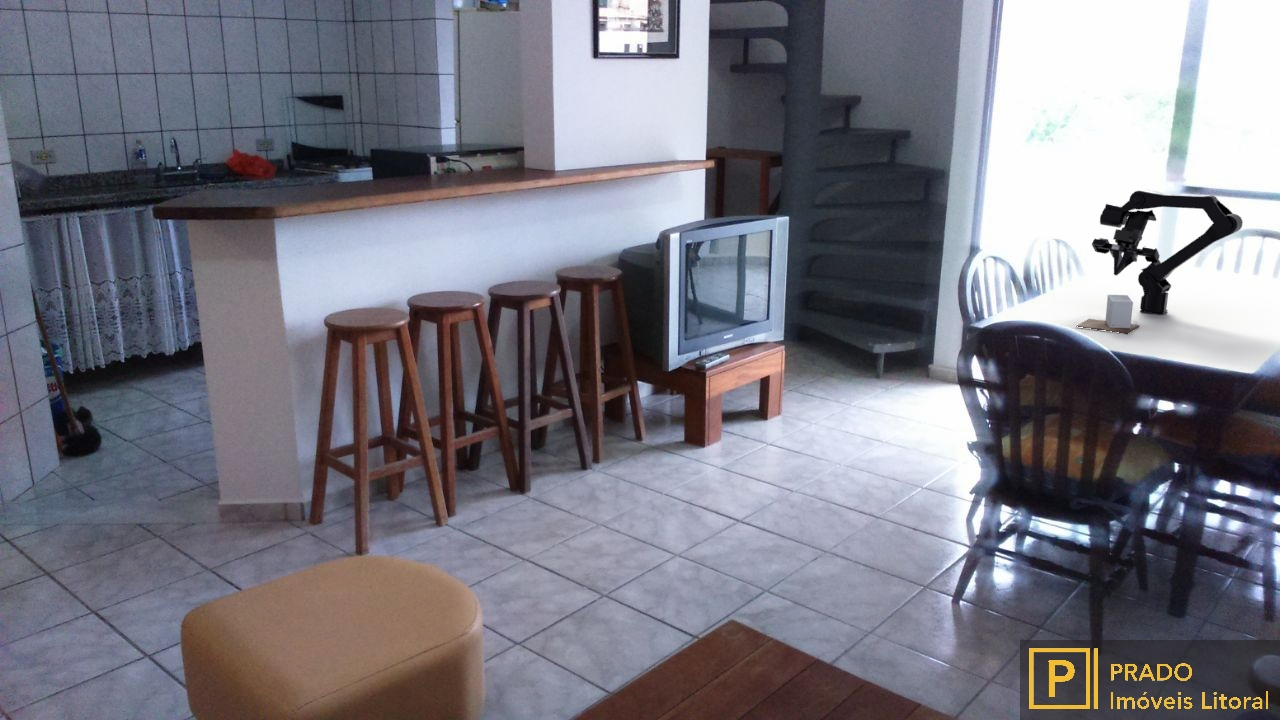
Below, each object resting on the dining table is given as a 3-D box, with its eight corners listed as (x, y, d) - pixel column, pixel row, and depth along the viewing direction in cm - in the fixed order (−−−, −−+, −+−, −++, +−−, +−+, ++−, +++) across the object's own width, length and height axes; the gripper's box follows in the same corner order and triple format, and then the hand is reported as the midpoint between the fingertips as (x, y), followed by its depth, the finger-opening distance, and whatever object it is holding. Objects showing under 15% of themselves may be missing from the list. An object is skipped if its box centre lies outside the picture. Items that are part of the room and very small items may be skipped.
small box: (1125, 321, 293) (1130, 329, 283) (1104, 320, 295) (1109, 328, 285) (1128, 294, 291) (1133, 301, 281) (1107, 294, 293) (1112, 301, 283)
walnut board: (1139, 327, 289) (1139, 325, 289) (1127, 334, 280) (1127, 332, 280) (1088, 320, 297) (1089, 318, 297) (1076, 327, 289) (1076, 325, 288)
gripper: (1097, 213, 306) (1078, 258, 305) (1161, 223, 294) (1142, 270, 293) (1105, 228, 315) (1086, 272, 313) (1167, 239, 303) (1148, 285, 301)
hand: (1115, 274), depth 305 cm, fingers closed
